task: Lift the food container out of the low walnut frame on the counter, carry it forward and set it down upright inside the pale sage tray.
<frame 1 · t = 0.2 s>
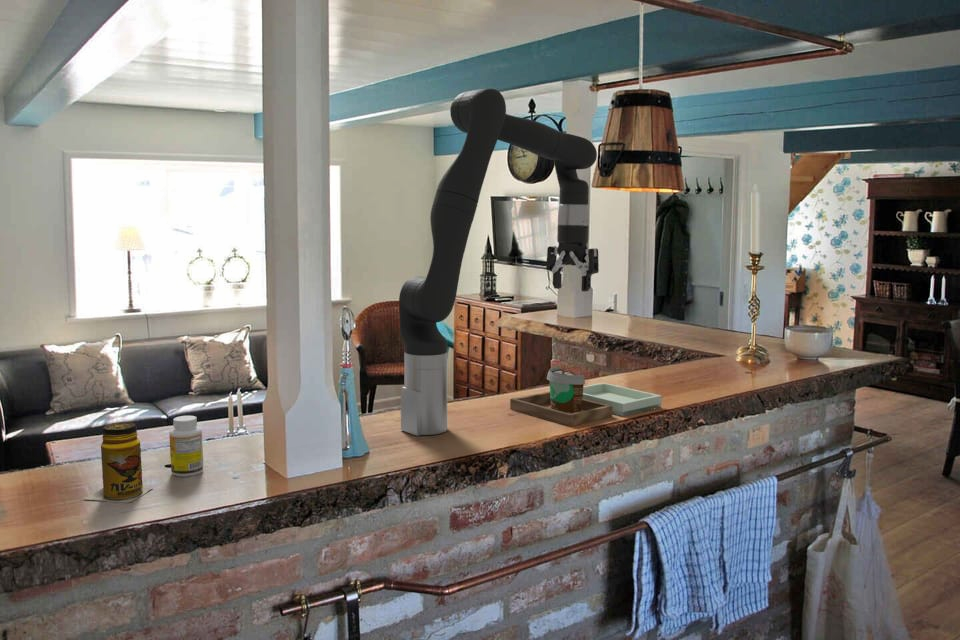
hand: (571, 289, 204), 28 cm above the counter, tool pointing down, fingers open, 8 cm apart
food container: (560, 413, 197), resting in walnut frame
sage tray: (612, 404, 205), on the counter
condiment: (119, 495, 140), on the counter
supplement bottle: (187, 474, 151), on the counter
walnut frame: (560, 412, 197), on the counter
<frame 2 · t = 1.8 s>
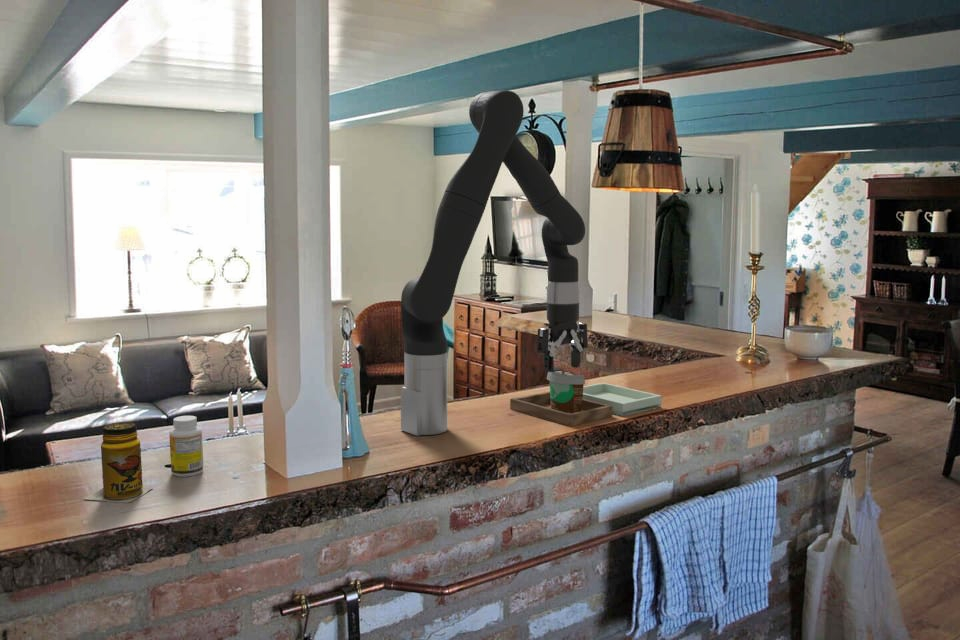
hand: (562, 369, 195), 10 cm above the counter, tool pointing down, fingers open, 8 cm apart
nothing on the counter moved.
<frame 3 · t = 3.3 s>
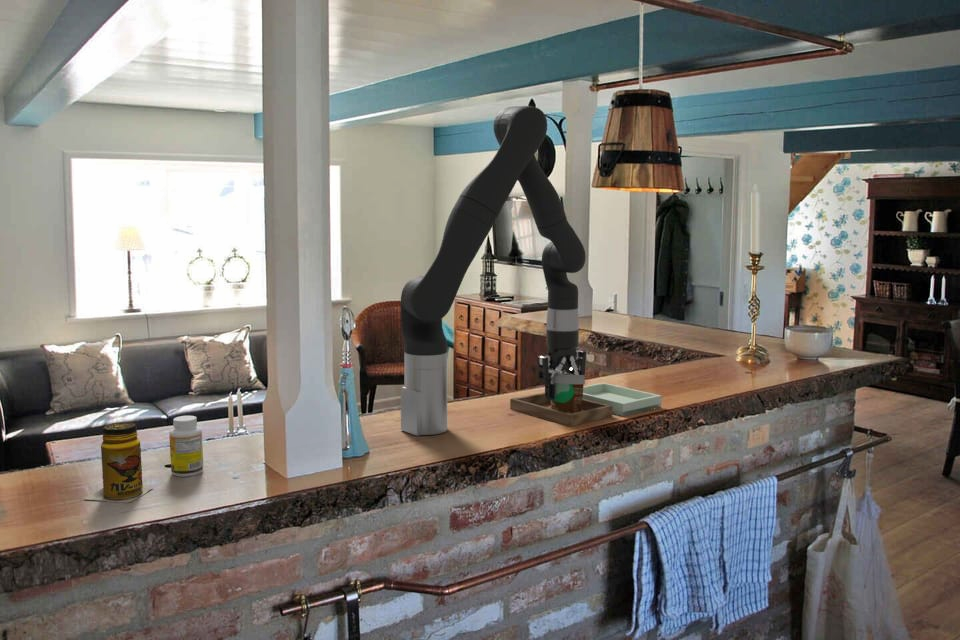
hand: (561, 396, 196), 4 cm above the counter, tool pointing down, fingers closed on food container, 7 cm apart
food container: (560, 413, 197), resting in walnut frame, touching gripper
everything else where it was.
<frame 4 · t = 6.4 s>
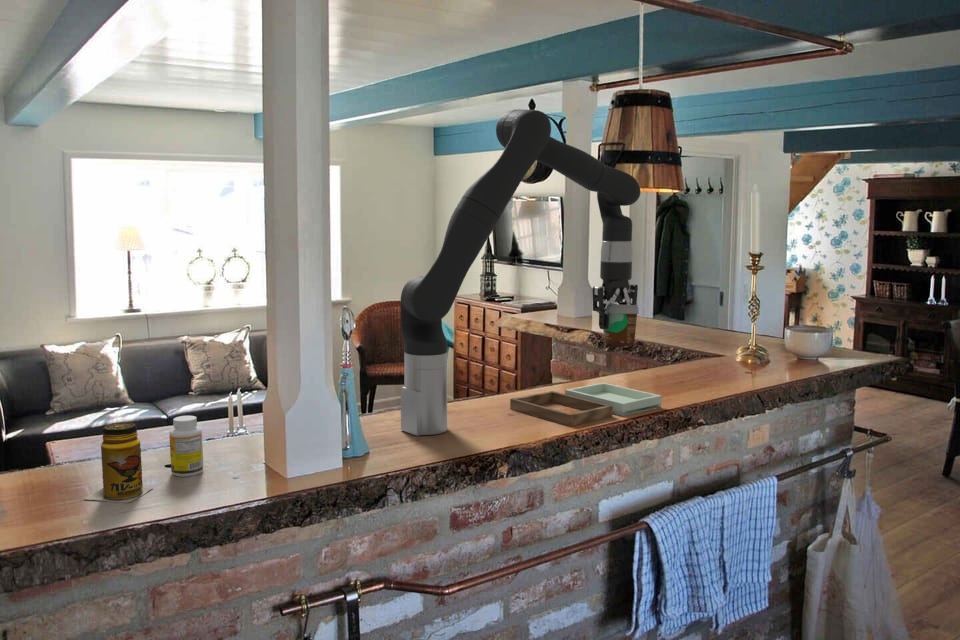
hand: (614, 327, 202), 19 cm above the counter, tool pointing down, fingers closed on food container, 7 cm apart
food container: (613, 344, 203), point 15 cm above the counter, touching gripper
everything else where it was.
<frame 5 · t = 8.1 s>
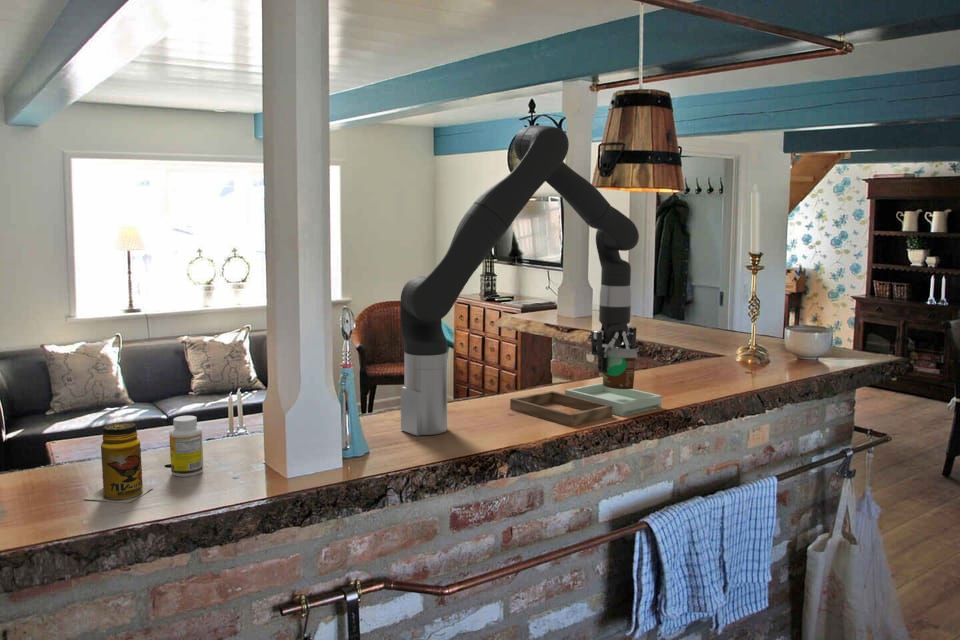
hand: (613, 370, 204), 9 cm above the counter, tool pointing down, fingers closed on food container, 7 cm apart
food container: (612, 386, 204), point 5 cm above the counter, touching gripper
everything else where it was.
when the fingers open (6 cm above the counter, at t = 9.7 s): food container drops 1 cm, resting on sage tray.
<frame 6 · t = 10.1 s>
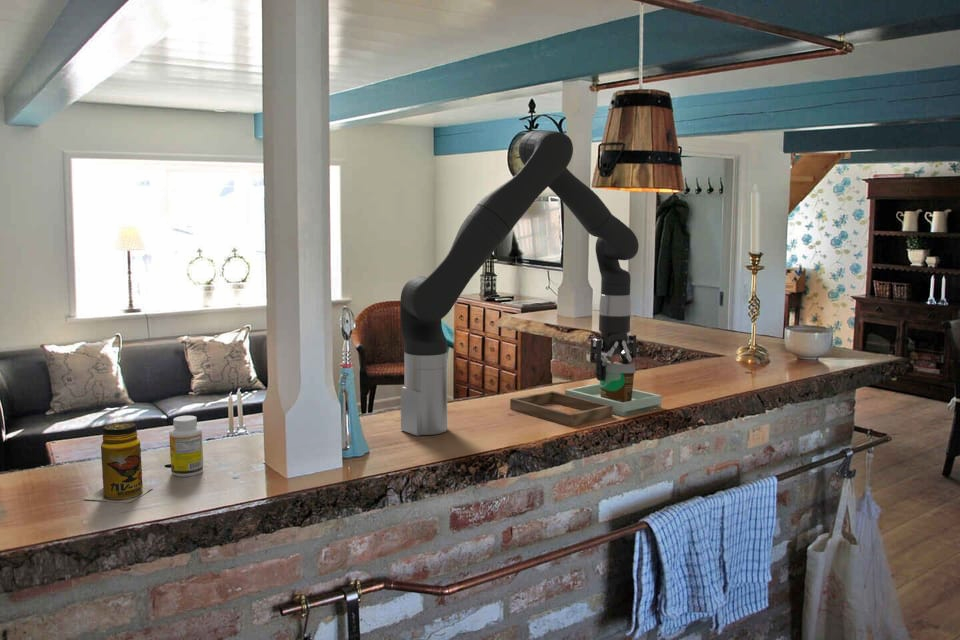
hand: (612, 378, 204), 7 cm above the counter, tool pointing down, fingers open, 8 cm apart
food container: (609, 401, 204), point 1 cm above the counter, touching gripper, sage tray
everything else where it was.
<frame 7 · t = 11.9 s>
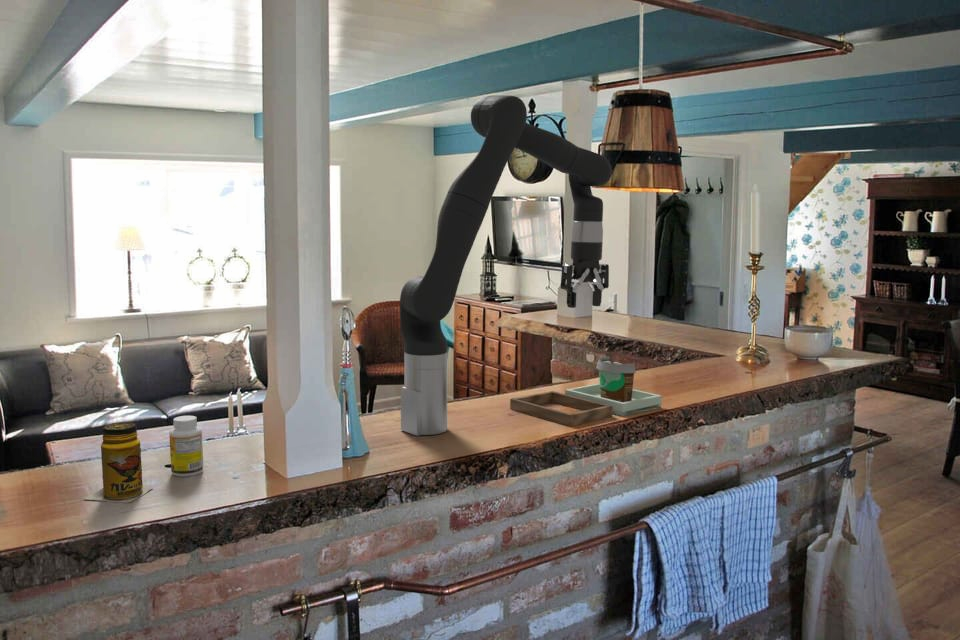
hand: (584, 306, 203), 24 cm above the counter, tool pointing down, fingers open, 8 cm apart
food container: (609, 401, 204), point 1 cm above the counter, touching sage tray
everything else where it was.
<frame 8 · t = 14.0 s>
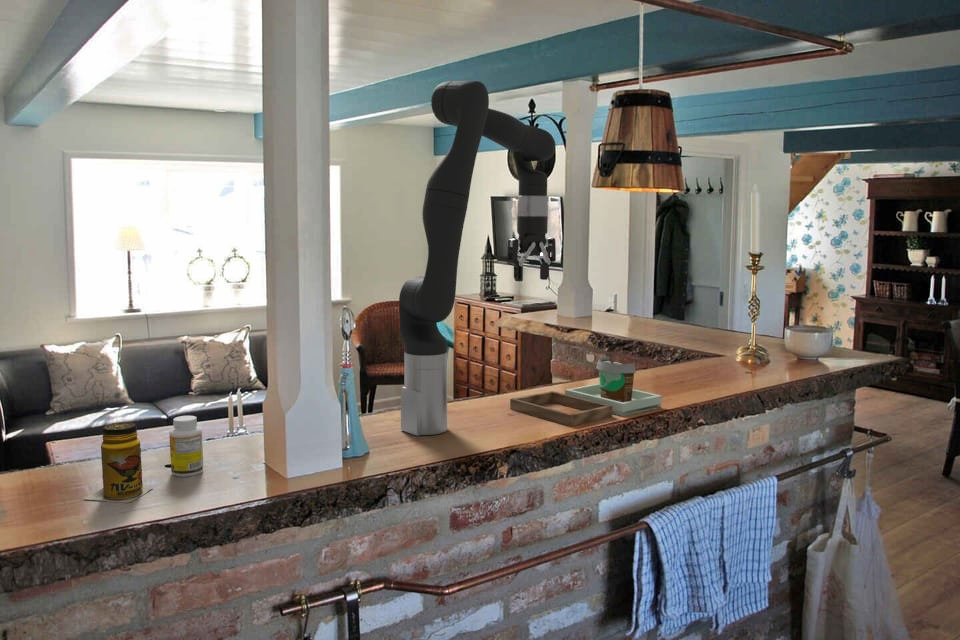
hand: (531, 280, 206), 30 cm above the counter, tool pointing down, fingers open, 8 cm apart
nothing on the counter moved.
at the end: food container inside the target area on the sage tray (0.8 cm from its centre), point 0.8 cm above the sage tray's base; food container tilted 0°; the gripper is holding nothing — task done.
